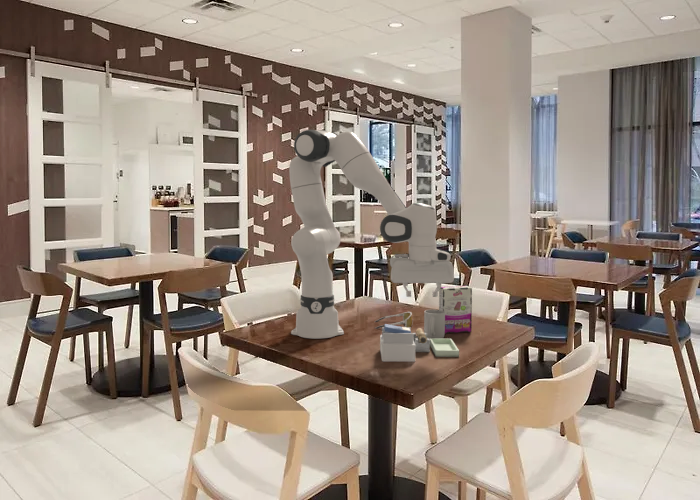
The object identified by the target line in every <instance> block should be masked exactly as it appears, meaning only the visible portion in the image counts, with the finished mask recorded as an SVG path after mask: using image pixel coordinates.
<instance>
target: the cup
mask: <svg viewBox="0 0 700 500" xmlns="http://www.w3.org/2000/svg"><path fill="white" fill-rule="evenodd" d="M423 315H424V316H423V318H424V319H423V320H424V321H423V323H424V324H423V325H424V326H423V332H424V333H427V338H429V339H430V338H444V337H445V334H446V333H445V311H442V310H439V309H426V310H424V314H423Z"/></svg>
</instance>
